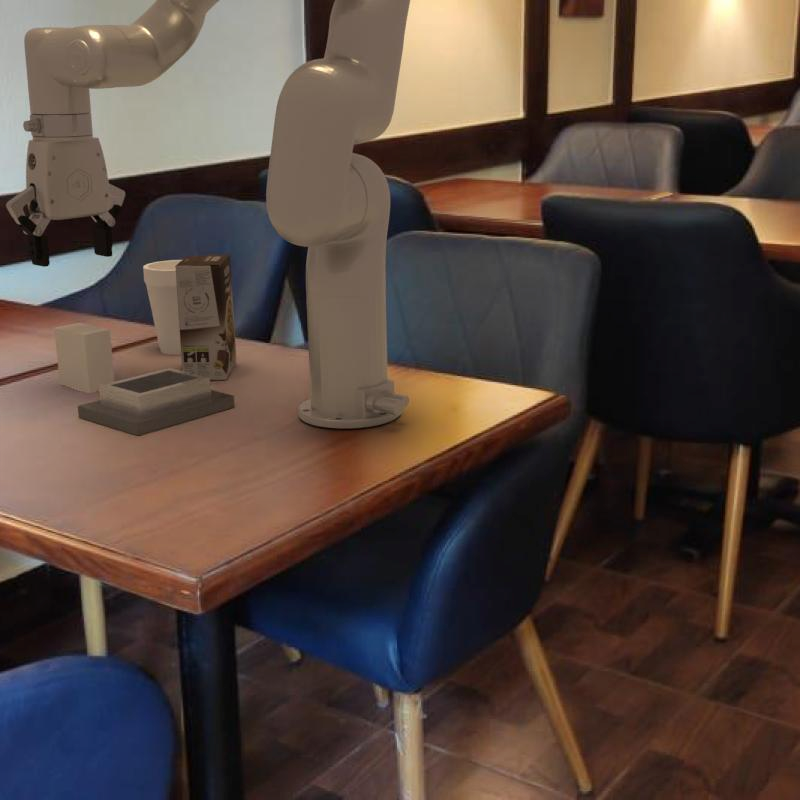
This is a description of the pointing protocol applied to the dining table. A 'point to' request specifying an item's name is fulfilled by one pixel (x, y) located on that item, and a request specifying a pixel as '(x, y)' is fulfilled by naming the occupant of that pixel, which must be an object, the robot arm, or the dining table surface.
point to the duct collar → (155, 401)
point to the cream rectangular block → (84, 356)
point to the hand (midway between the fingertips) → (72, 260)
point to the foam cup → (164, 304)
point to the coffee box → (206, 315)
